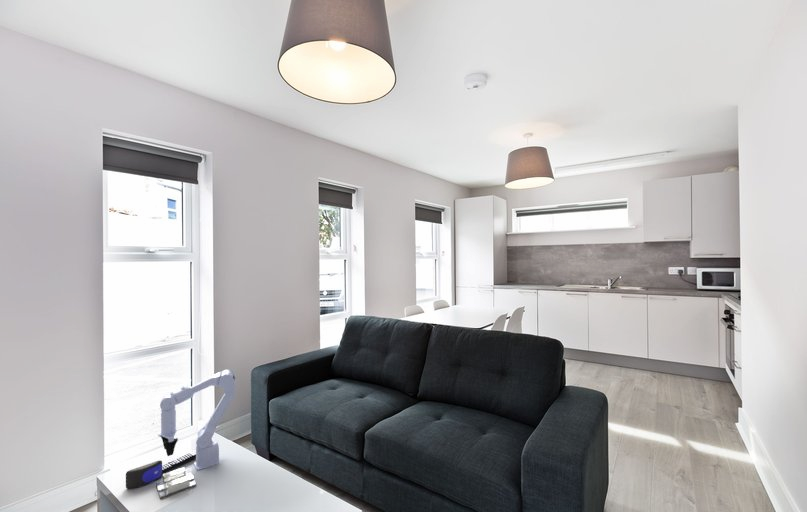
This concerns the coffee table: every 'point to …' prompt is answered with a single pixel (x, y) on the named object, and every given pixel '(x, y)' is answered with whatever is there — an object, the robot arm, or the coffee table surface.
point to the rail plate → (175, 483)
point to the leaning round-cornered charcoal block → (143, 475)
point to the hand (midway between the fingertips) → (168, 451)
